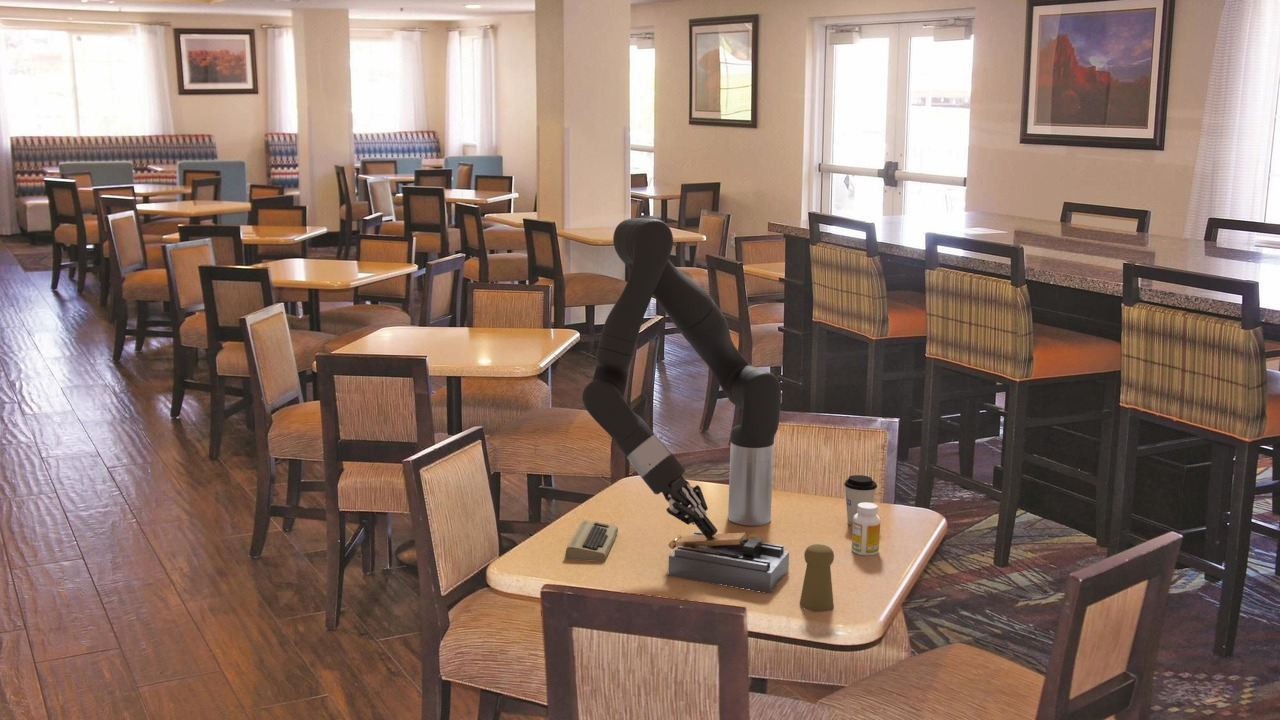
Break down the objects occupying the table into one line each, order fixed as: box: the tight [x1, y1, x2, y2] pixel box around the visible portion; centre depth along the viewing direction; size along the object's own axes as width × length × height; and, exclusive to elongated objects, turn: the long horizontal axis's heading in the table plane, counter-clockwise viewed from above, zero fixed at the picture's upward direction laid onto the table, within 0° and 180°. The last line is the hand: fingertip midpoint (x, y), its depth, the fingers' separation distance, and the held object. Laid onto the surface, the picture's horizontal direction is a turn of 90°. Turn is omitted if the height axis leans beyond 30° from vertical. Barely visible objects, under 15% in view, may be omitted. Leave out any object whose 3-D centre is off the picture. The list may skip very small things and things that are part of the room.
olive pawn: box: [799, 543, 835, 613], centre depth 209 cm, size 6×6×11 cm
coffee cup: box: [843, 474, 878, 526], centre depth 251 cm, size 7×7×10 cm
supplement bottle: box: [851, 502, 881, 556], centre depth 235 cm, size 5×5×10 cm
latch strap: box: [668, 532, 747, 550], centre depth 224 cm, size 4×14×1 cm, turn 67°
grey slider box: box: [667, 530, 790, 594], centre depth 223 cm, size 12×20×7 cm, turn 67°
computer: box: [564, 519, 619, 562], centre depth 236 cm, size 16×8×3 cm, turn 172°
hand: (713, 535), depth 223 cm, fingers closed
